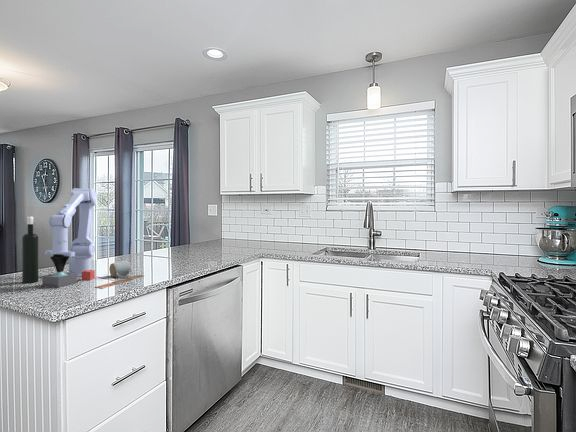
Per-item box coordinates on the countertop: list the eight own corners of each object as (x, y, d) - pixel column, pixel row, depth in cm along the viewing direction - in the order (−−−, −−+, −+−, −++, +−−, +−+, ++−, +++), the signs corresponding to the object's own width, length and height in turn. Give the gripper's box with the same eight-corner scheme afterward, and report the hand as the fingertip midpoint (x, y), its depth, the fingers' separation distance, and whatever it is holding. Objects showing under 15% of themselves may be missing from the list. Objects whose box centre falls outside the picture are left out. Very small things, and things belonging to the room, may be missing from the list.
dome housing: (42, 285, 142) (42, 275, 142) (61, 281, 150) (61, 271, 150) (58, 287, 140) (58, 277, 139) (76, 283, 148) (76, 273, 148)
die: (81, 280, 154) (81, 271, 154) (86, 278, 158) (86, 269, 158) (90, 280, 154) (90, 271, 154) (94, 278, 158) (94, 269, 158)
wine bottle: (36, 279, 152) (36, 216, 151) (40, 282, 148) (39, 216, 148) (20, 282, 148) (20, 216, 147) (24, 284, 144) (24, 216, 143)
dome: (49, 282, 143) (49, 272, 143) (60, 279, 148) (60, 269, 148) (59, 283, 142) (59, 273, 141) (70, 280, 147) (70, 270, 147)
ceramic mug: (108, 276, 164) (108, 261, 163) (125, 273, 170) (125, 259, 169) (117, 280, 157) (117, 264, 156) (134, 277, 163) (134, 262, 163)
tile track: (95, 287, 141) (95, 287, 141) (137, 275, 167) (137, 274, 167) (102, 288, 140) (102, 287, 140) (144, 276, 166) (144, 275, 166)
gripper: (38, 241, 142) (38, 272, 143) (64, 243, 139) (64, 274, 139) (53, 239, 149) (53, 269, 150) (79, 241, 145) (79, 271, 146)
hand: (60, 271), depth 145 cm, fingers closed, pressing on dome
